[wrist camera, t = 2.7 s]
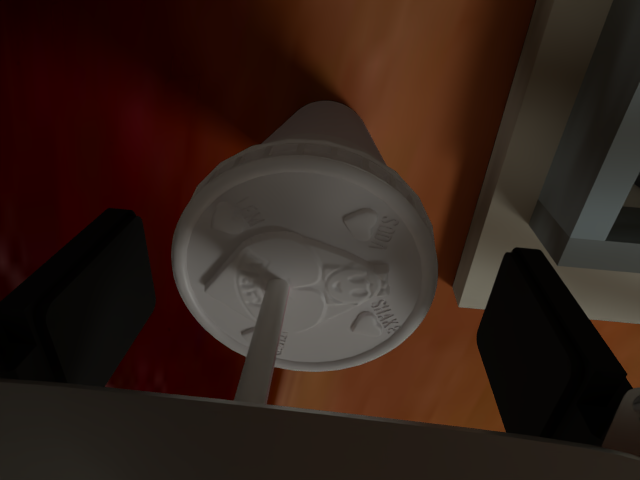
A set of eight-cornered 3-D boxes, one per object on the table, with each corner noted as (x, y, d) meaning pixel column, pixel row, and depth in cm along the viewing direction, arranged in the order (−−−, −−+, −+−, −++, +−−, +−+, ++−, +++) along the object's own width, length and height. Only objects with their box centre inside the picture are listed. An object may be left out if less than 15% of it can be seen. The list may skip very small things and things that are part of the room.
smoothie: (238, 73, 17) (-40, 305, 5) (401, 56, 16) (534, 283, 4) (265, 214, 20) (139, 554, 8) (402, 206, 19) (476, 566, 8)
